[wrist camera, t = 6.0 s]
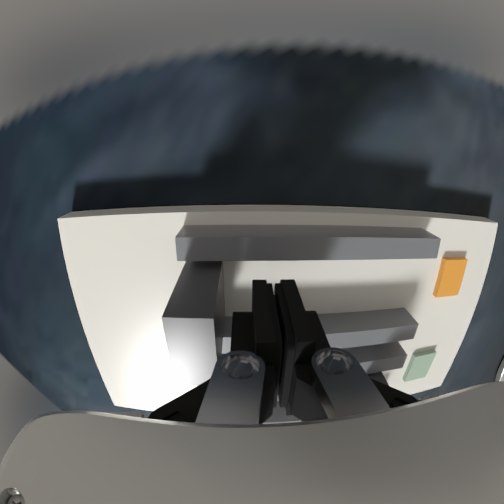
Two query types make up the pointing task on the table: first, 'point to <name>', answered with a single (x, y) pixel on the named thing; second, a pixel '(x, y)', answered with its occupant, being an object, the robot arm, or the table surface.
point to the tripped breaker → (195, 322)
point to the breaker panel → (273, 270)
